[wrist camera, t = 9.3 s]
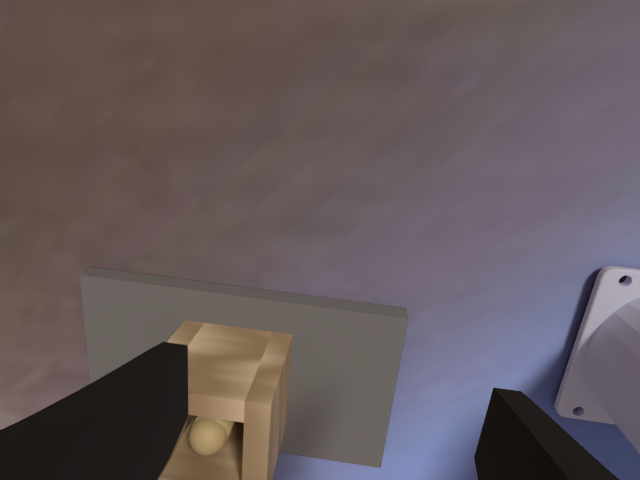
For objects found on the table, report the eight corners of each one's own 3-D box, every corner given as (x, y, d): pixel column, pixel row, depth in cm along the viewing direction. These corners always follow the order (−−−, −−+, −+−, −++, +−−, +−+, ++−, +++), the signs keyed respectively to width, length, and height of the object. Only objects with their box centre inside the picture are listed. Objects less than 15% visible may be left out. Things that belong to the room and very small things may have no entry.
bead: (292, 334, 20) (271, 404, 15) (286, 423, 22) (264, 512, 17) (184, 320, 21) (131, 384, 16) (186, 409, 22) (138, 491, 18)
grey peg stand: (405, 308, 20) (421, 384, 15) (379, 452, 23) (385, 561, 18) (91, 267, 21) (-3, 323, 16) (104, 410, 24) (28, 500, 19)
